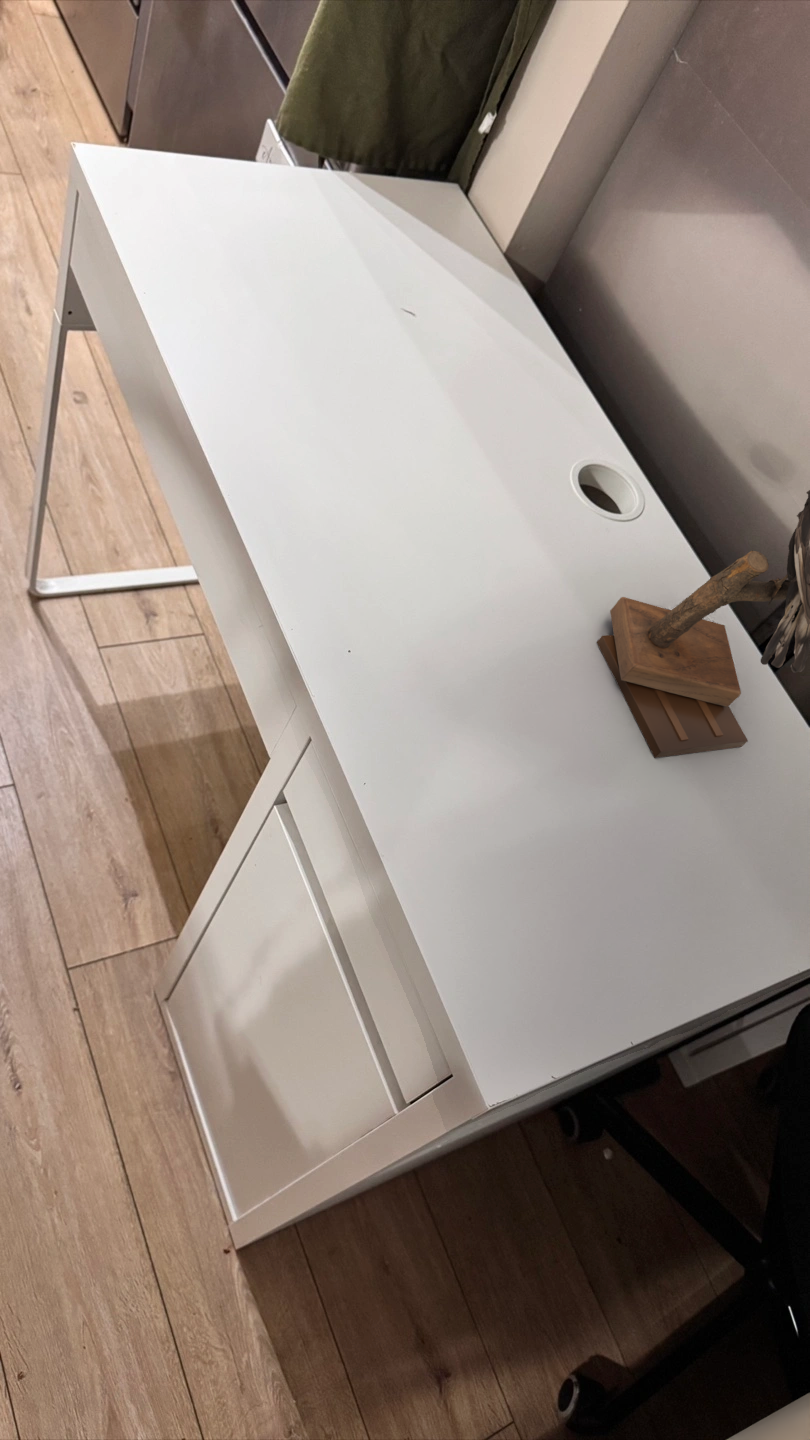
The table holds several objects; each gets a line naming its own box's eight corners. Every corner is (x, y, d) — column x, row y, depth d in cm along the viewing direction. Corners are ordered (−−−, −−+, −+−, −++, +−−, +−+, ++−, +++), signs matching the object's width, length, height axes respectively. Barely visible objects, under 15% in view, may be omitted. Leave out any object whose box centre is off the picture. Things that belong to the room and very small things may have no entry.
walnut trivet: (741, 747, 89) (749, 740, 88) (654, 758, 84) (662, 750, 83) (681, 637, 94) (688, 629, 93) (596, 642, 89) (602, 634, 88)
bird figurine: (629, 741, 82) (840, 531, 63) (609, 610, 90) (791, 389, 71) (740, 768, 85) (973, 575, 66) (711, 638, 94) (911, 434, 75)
